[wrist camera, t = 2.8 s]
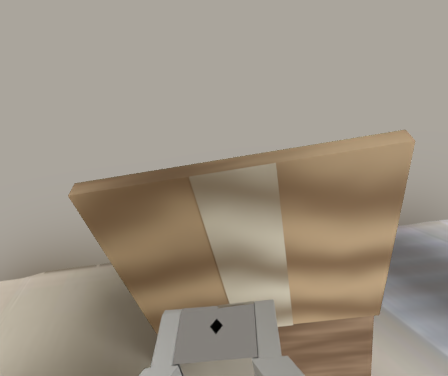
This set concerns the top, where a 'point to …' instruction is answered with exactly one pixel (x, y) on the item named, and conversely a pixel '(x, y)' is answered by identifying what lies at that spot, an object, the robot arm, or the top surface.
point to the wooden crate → (330, 346)
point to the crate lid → (258, 229)
